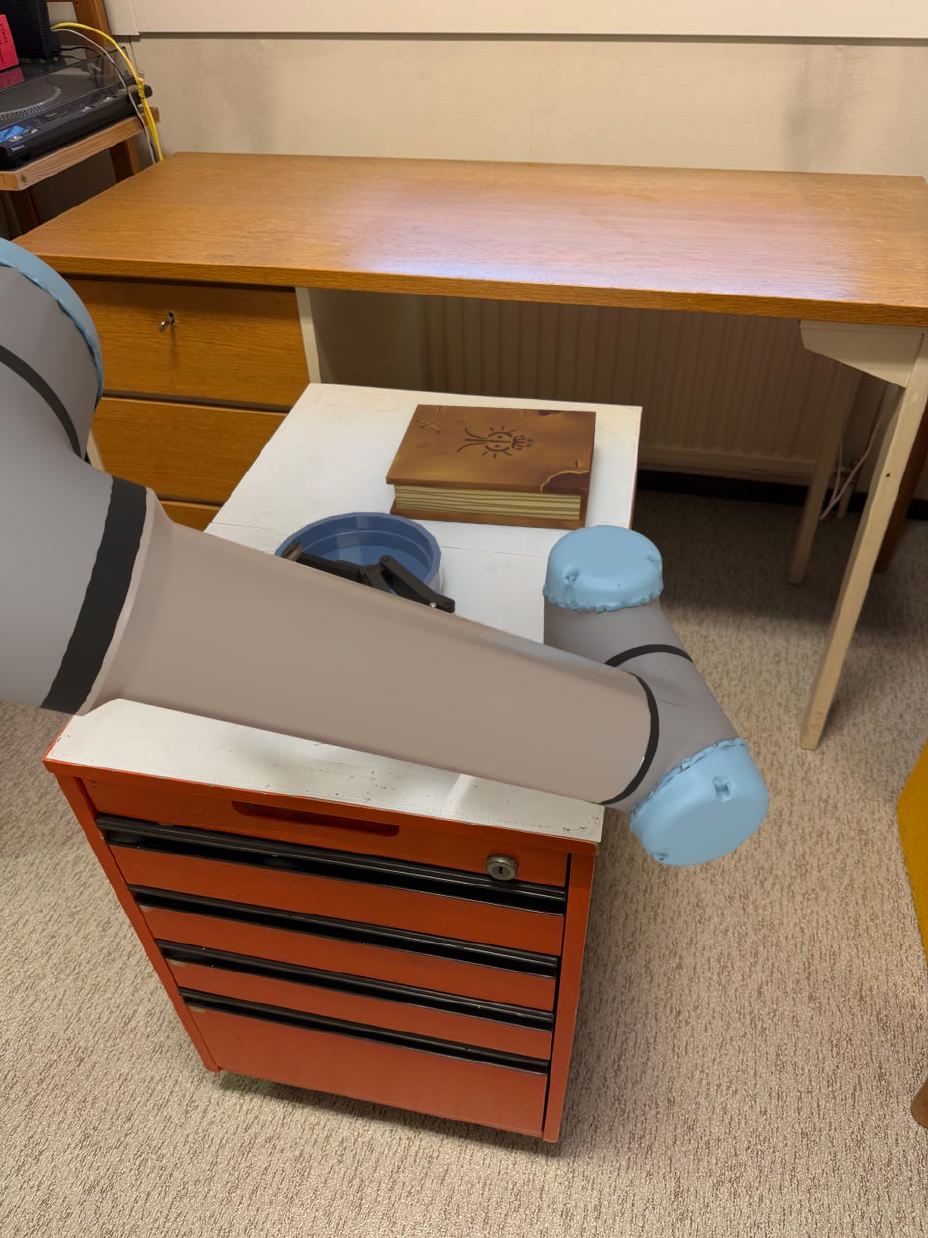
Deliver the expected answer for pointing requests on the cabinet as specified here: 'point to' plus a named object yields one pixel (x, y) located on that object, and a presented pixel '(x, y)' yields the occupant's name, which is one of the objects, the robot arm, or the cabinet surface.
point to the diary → (495, 466)
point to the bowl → (373, 543)
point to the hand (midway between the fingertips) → (255, 608)
